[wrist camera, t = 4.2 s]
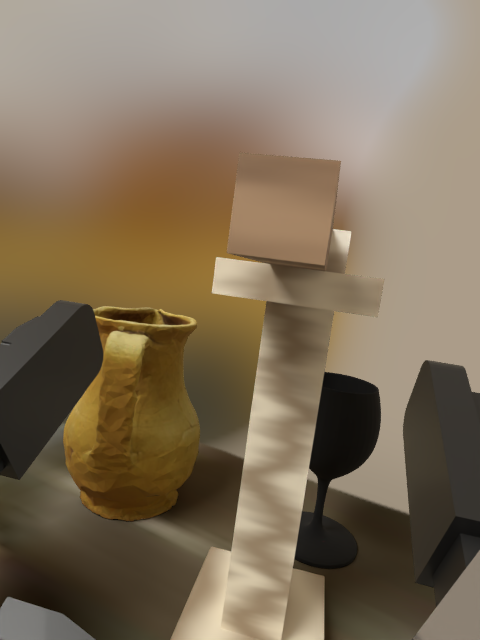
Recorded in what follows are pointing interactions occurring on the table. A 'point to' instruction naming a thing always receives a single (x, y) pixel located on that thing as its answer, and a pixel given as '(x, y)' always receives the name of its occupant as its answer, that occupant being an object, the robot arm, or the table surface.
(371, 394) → the wine glass
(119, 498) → the pitcher
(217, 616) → the square pedestal column
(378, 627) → the table surface
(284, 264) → the peg
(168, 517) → the table surface
